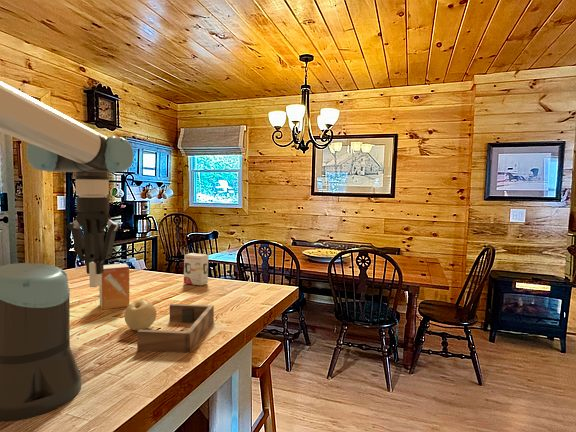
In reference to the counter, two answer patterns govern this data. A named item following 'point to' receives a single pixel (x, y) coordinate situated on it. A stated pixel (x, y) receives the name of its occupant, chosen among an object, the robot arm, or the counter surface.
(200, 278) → the ink box
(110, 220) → the robot arm
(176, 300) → the counter surface
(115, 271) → the small box
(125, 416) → the counter surface
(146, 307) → the apple
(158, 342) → the trough
